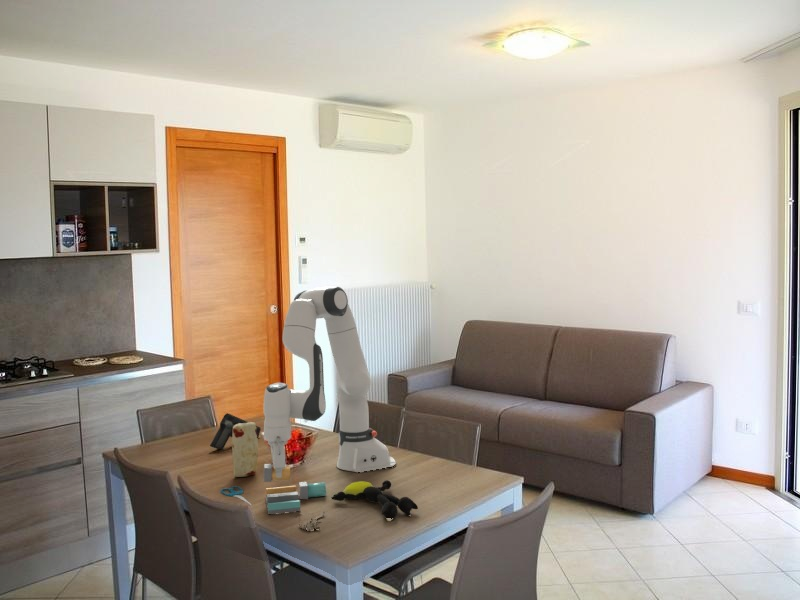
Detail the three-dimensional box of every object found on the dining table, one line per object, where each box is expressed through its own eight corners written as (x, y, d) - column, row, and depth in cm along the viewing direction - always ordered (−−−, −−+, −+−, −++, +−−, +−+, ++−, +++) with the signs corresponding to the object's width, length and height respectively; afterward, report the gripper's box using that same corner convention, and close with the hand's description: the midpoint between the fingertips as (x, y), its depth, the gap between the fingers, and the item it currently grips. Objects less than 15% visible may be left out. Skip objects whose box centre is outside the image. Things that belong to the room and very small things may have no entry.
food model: (237, 480, 257) (235, 426, 255) (229, 476, 262) (227, 422, 260) (261, 475, 262) (260, 421, 261) (254, 470, 268) (252, 418, 266)
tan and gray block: (288, 478, 238) (289, 464, 237) (289, 482, 233) (290, 468, 233) (263, 477, 236) (264, 463, 235) (263, 481, 231) (264, 468, 231)
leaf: (307, 536, 207) (307, 529, 207) (284, 520, 219) (284, 514, 219) (341, 526, 213) (341, 520, 213) (317, 511, 226) (316, 505, 226)
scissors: (237, 485, 250) (261, 502, 233) (237, 488, 250) (261, 505, 233) (219, 489, 246) (242, 506, 229) (219, 492, 246) (242, 509, 230)
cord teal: (324, 493, 242) (324, 480, 241) (326, 497, 237) (325, 484, 237) (299, 495, 240) (298, 482, 239) (300, 500, 235) (300, 486, 235)
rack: (296, 495, 240) (295, 485, 239) (300, 511, 225) (300, 501, 225) (266, 498, 237) (265, 488, 237) (268, 515, 223) (268, 504, 222)
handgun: (250, 460, 311) (261, 427, 316) (213, 446, 293) (225, 411, 298) (246, 460, 312) (257, 427, 318) (209, 446, 294) (221, 411, 299)
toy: (437, 508, 226) (380, 488, 249) (436, 490, 226) (379, 471, 249) (380, 528, 211) (324, 505, 235) (379, 508, 211) (323, 487, 234)
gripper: (289, 440, 224) (290, 483, 225) (285, 425, 244) (286, 464, 245) (269, 442, 223) (269, 485, 224) (266, 426, 243) (267, 466, 244)
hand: (278, 474), depth 235 cm, fingers closed on tan and gray block, 4 cm apart
